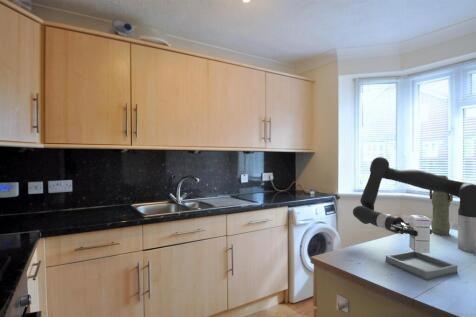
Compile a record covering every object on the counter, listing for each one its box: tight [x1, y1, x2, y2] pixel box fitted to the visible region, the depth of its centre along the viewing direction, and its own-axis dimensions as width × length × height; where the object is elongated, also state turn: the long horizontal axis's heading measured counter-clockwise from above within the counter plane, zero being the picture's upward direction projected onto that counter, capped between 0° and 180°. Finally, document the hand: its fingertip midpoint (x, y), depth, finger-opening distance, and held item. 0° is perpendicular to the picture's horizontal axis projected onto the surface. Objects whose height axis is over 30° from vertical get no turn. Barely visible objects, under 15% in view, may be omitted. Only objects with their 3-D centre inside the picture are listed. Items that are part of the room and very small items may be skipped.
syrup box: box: [409, 214, 431, 254], centre depth 113 cm, size 6×6×14 cm
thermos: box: [429, 174, 454, 236], centre depth 161 cm, size 9×12×35 cm
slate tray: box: [385, 250, 458, 281], centre depth 113 cm, size 18×18×3 cm
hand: (424, 232), depth 111 cm, fingers closed on syrup box, 8 cm apart
